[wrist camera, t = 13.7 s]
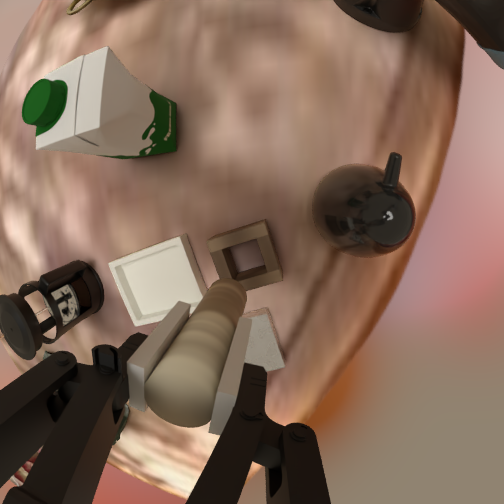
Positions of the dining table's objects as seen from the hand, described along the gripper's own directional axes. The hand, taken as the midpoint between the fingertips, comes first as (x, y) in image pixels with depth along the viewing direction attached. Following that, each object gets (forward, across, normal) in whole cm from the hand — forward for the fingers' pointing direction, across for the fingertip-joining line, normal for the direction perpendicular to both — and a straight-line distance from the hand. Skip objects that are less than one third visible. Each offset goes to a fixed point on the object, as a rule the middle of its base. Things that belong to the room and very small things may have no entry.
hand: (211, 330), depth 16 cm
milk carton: (+21, +16, -14) cm, 30 cm away
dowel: (+6, 0, 0) cm, 6 cm away
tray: (+20, +11, +7) cm, 24 cm away
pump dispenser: (+21, -11, -9) cm, 25 cm away
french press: (+21, +26, +12) cm, 35 cm away
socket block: (+21, 0, 0) cm, 21 cm away
